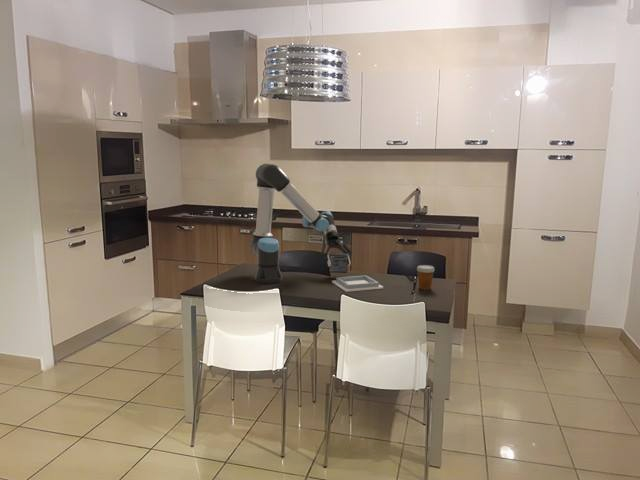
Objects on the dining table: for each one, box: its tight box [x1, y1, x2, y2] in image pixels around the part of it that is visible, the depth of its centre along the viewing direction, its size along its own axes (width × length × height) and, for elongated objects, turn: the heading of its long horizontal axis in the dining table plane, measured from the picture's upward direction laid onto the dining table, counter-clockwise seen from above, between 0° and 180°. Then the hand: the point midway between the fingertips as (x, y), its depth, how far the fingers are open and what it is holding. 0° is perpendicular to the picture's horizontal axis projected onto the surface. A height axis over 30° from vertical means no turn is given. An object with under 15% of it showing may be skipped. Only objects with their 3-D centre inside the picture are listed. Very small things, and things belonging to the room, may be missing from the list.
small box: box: [328, 252, 348, 274], centre depth 295 cm, size 11×6×10 cm, turn 89°
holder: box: [331, 274, 384, 293], centre depth 280 cm, size 22×20×3 cm
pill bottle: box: [416, 264, 436, 291], centre depth 276 cm, size 10×10×12 cm
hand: (339, 265), depth 293 cm, fingers closed on small box, 11 cm apart
